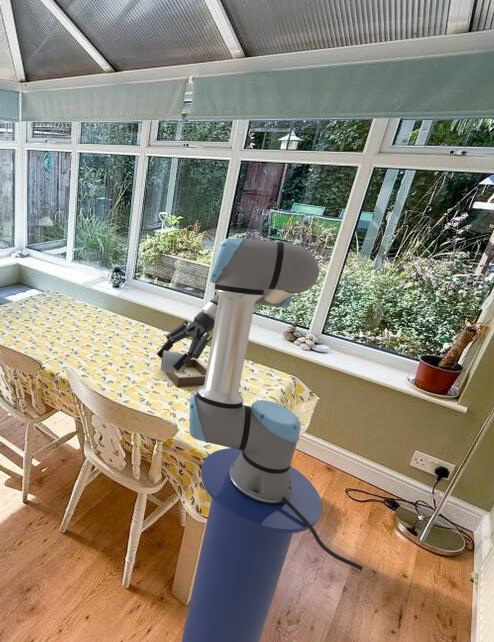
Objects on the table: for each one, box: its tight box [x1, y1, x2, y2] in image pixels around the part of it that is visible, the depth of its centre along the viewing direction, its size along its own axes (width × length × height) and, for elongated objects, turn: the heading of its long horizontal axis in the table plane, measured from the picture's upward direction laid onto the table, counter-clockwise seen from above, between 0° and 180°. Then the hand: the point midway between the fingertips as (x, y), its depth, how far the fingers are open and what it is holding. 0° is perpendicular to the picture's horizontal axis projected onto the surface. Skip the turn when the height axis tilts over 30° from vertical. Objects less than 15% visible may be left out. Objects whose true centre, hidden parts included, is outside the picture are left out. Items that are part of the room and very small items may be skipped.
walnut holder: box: [163, 358, 207, 388], centre depth 174 cm, size 16×16×5 cm
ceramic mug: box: [160, 350, 186, 374], centre depth 152 cm, size 11×8×8 cm
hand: (166, 362), depth 150 cm, fingers closed on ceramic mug, 10 cm apart
